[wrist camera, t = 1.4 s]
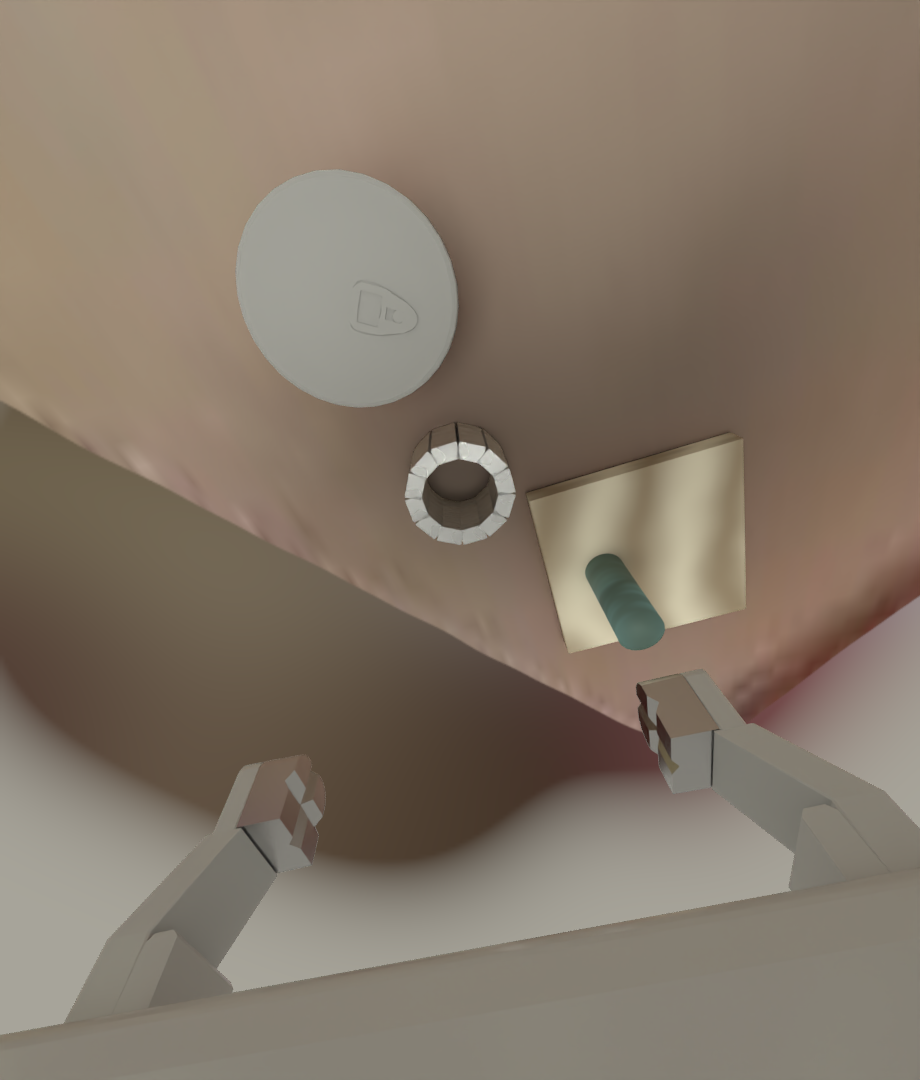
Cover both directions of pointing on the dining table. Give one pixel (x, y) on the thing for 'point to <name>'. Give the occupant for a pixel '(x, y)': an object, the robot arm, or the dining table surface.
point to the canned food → (346, 288)
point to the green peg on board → (645, 544)
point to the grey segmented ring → (469, 515)
